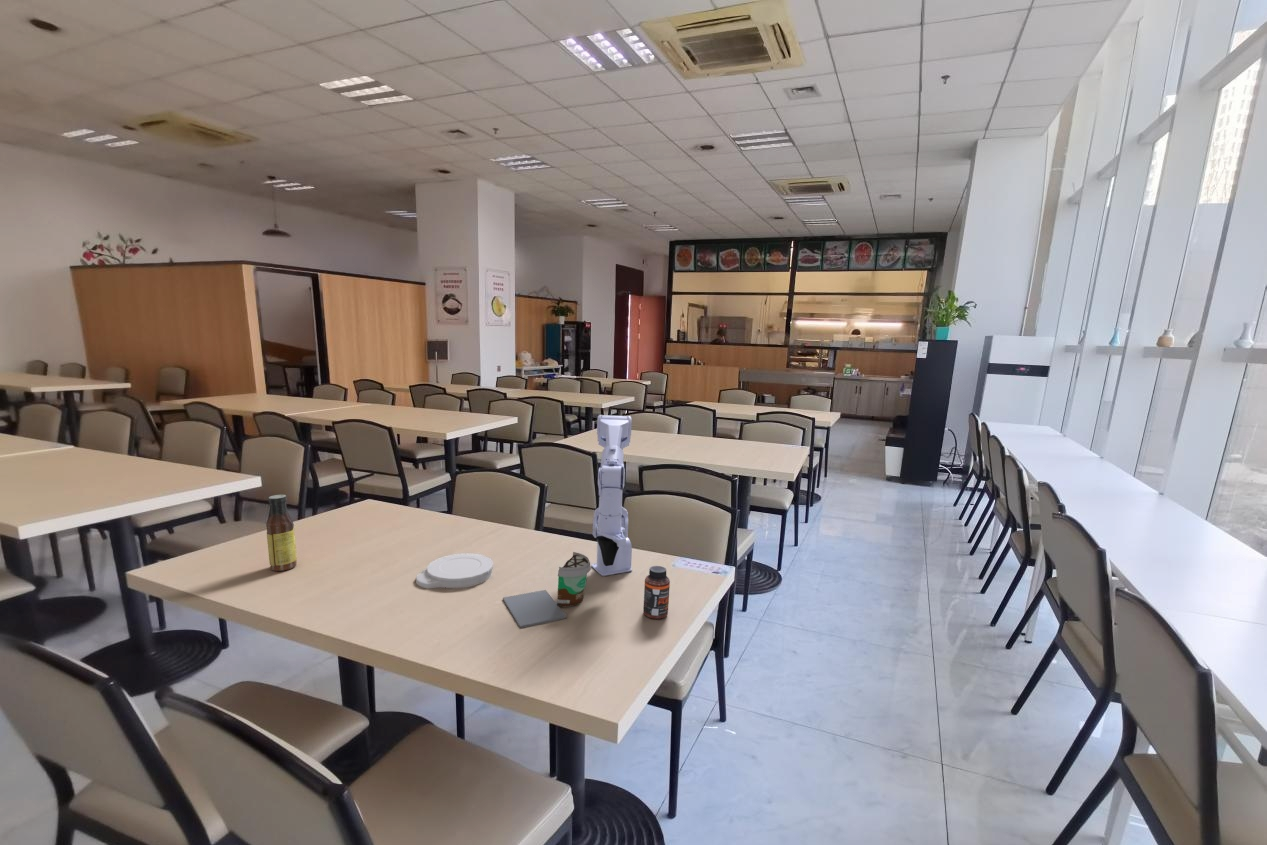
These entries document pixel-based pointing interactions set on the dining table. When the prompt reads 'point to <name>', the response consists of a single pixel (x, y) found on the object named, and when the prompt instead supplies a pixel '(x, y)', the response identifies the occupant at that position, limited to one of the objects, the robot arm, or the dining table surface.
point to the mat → (534, 608)
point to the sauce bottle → (280, 535)
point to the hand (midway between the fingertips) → (608, 564)
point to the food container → (572, 580)
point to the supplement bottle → (656, 593)
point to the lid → (456, 571)
